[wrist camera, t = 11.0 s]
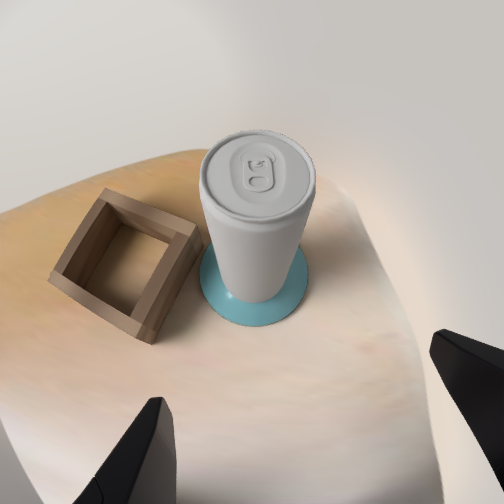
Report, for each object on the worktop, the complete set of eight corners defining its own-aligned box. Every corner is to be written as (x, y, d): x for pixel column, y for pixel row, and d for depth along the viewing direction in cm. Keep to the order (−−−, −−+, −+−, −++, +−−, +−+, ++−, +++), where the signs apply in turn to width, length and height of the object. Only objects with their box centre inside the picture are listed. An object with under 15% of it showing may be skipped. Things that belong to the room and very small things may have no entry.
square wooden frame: (203, 245, 24) (196, 224, 21) (151, 344, 21) (135, 338, 18) (119, 209, 26) (105, 187, 22) (69, 294, 22) (47, 280, 19)
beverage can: (284, 242, 24) (310, 127, 13) (288, 304, 22) (328, 223, 11) (220, 243, 24) (200, 129, 13) (220, 306, 22) (192, 226, 11)
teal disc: (321, 248, 24) (322, 246, 24) (282, 344, 21) (283, 343, 21) (228, 212, 25) (228, 209, 25) (182, 299, 23) (180, 297, 22)
